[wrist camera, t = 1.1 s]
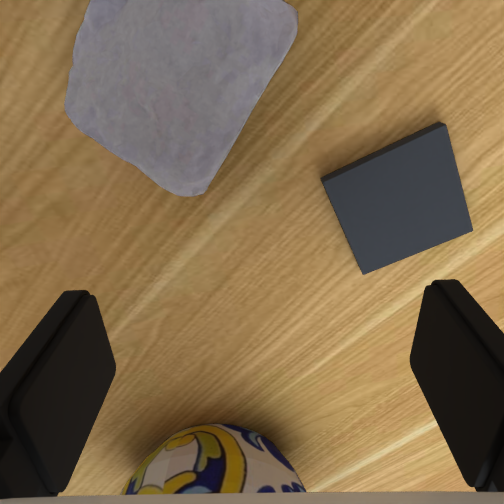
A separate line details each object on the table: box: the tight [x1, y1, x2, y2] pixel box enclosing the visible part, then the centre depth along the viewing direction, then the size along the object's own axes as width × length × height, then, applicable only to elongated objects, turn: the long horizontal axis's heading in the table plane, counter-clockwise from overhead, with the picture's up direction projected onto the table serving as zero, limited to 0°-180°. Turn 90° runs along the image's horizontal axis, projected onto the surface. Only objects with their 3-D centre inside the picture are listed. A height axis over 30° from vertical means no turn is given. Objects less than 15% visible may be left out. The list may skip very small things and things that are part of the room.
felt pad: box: [321, 122, 473, 275], centre depth 26 cm, size 8×8×1 cm
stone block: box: [64, 0, 298, 196], centre depth 21 cm, size 12×5×10 cm
